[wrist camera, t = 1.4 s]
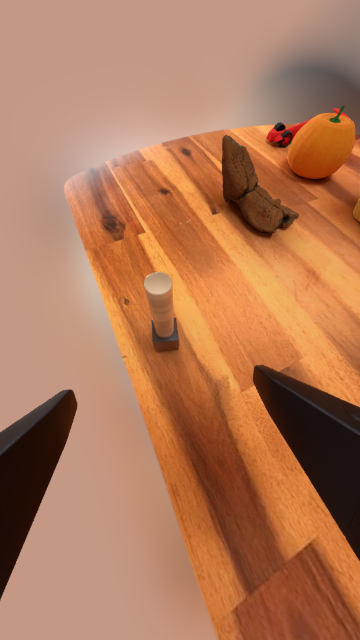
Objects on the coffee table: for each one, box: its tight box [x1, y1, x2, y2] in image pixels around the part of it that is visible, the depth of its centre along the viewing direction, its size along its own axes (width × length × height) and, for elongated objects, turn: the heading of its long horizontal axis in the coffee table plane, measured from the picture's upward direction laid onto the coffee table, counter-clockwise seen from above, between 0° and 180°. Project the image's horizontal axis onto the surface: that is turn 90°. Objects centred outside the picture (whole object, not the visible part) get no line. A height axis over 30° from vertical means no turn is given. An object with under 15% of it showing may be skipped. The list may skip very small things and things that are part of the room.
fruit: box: [287, 106, 355, 179], centre depth 37 cm, size 12×12×10 cm
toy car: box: [267, 108, 348, 147], centre depth 46 cm, size 6×18×5 cm, turn 100°
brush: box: [144, 272, 179, 352], centre depth 18 cm, size 3×3×12 cm
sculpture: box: [222, 135, 299, 233], centre depth 31 cm, size 8×10×15 cm
